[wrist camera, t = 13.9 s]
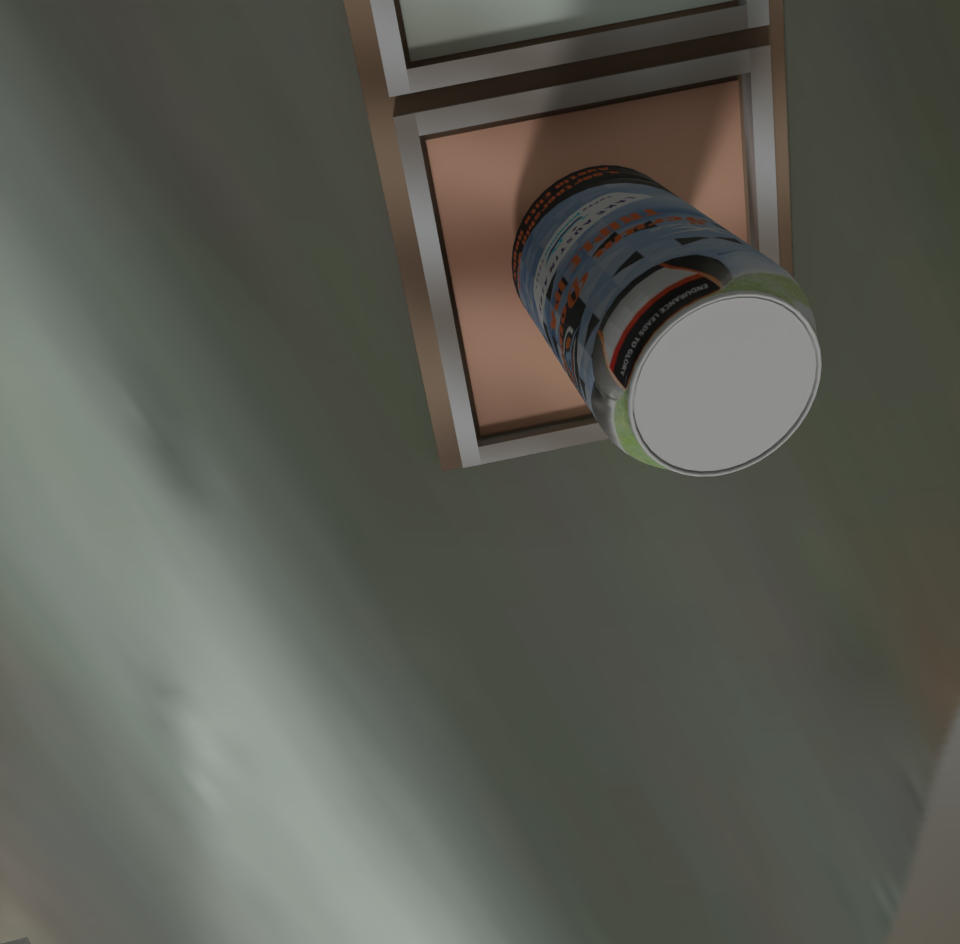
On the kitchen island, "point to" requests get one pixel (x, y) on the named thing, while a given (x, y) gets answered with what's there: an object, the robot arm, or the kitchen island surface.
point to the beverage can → (666, 322)
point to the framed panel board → (552, 169)
